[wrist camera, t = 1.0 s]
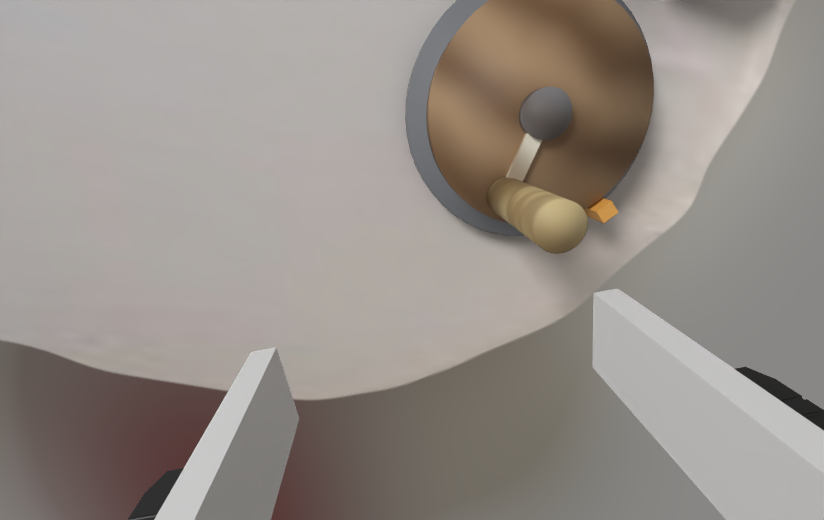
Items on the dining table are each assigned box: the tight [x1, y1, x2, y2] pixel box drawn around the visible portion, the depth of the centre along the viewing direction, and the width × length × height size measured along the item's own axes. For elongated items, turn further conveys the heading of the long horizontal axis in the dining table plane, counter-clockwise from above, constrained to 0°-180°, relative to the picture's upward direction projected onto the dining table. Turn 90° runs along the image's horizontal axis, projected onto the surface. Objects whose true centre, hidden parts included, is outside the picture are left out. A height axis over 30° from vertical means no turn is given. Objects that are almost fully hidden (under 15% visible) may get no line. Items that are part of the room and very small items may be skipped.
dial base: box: [405, 0, 651, 236], centre depth 30 cm, size 20×20×5 cm
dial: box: [426, 0, 653, 253], centre depth 25 cm, size 17×17×12 cm
